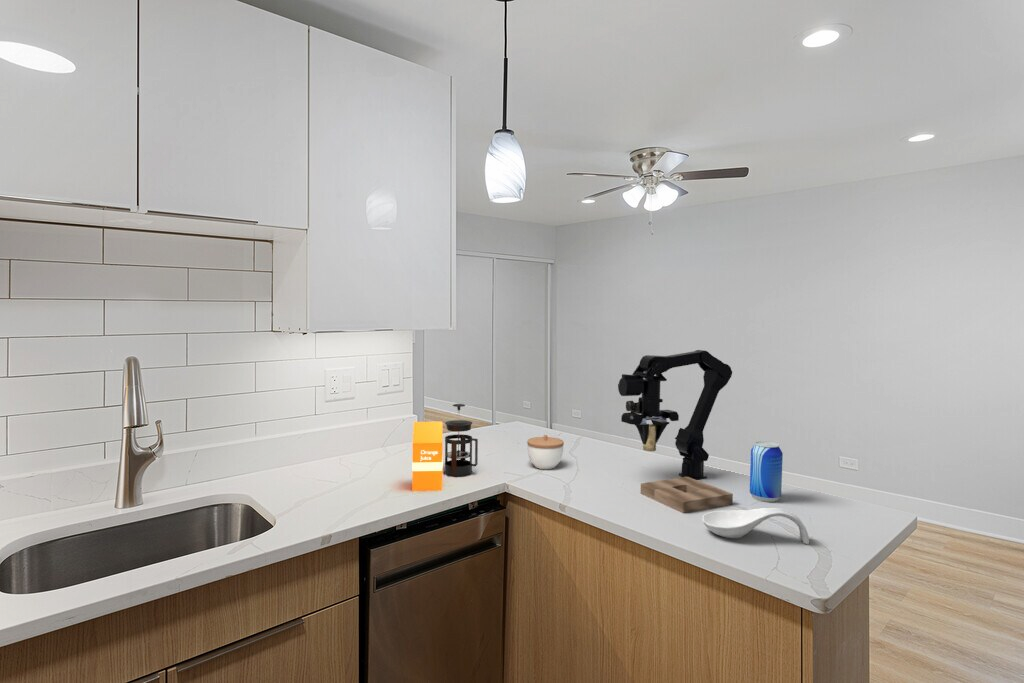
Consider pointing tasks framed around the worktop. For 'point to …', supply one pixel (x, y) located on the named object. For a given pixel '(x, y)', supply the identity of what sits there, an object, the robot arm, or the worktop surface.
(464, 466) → the french press
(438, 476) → the orange juice
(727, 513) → the spoon rest
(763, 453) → the beer can
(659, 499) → the walnut jig
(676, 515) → the worktop surface
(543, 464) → the lidded bowl
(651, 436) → the brass sleeve
